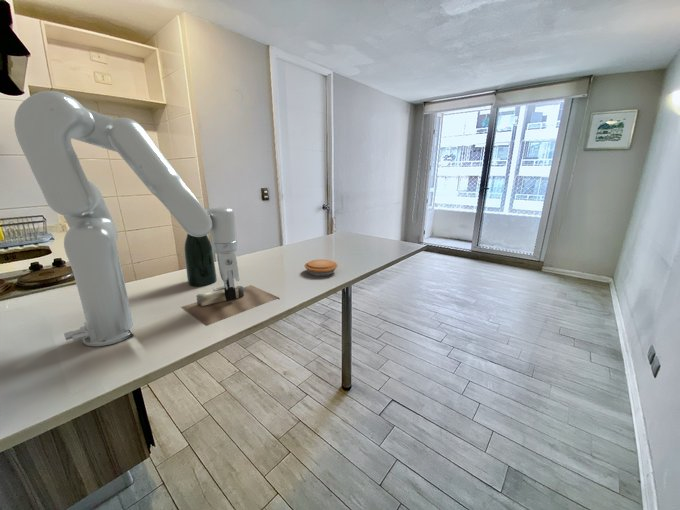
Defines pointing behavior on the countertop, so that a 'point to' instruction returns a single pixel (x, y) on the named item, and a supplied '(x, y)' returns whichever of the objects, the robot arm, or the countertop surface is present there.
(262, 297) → the brown wooden flat board
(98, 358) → the countertop surface
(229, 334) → the countertop surface
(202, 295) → the folding leg
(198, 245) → the green wine bottle
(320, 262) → the pie
